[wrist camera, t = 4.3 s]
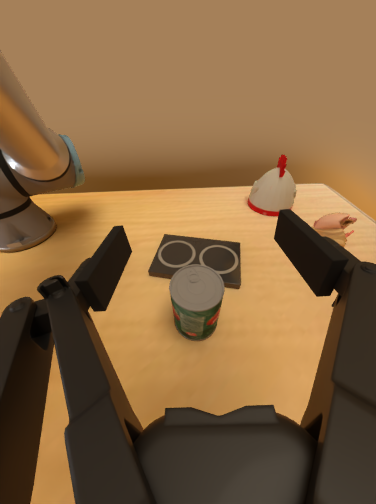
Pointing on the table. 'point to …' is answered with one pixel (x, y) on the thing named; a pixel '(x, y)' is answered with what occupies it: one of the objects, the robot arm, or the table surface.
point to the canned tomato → (196, 300)
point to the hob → (198, 257)
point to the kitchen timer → (273, 191)
